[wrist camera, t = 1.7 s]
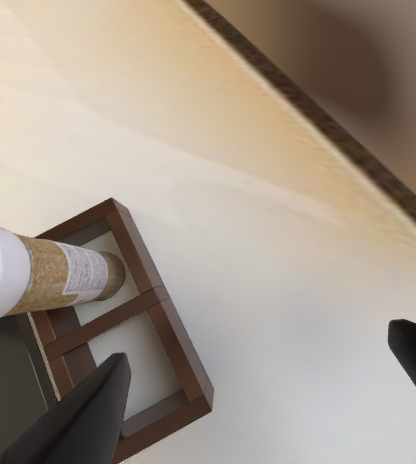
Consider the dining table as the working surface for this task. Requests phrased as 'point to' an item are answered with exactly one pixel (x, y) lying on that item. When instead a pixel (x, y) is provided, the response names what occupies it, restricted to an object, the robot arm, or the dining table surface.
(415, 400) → the dining table surface
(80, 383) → the robot arm
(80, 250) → the sprinkles bottle
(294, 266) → the dining table surface
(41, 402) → the slate board
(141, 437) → the spice rack
